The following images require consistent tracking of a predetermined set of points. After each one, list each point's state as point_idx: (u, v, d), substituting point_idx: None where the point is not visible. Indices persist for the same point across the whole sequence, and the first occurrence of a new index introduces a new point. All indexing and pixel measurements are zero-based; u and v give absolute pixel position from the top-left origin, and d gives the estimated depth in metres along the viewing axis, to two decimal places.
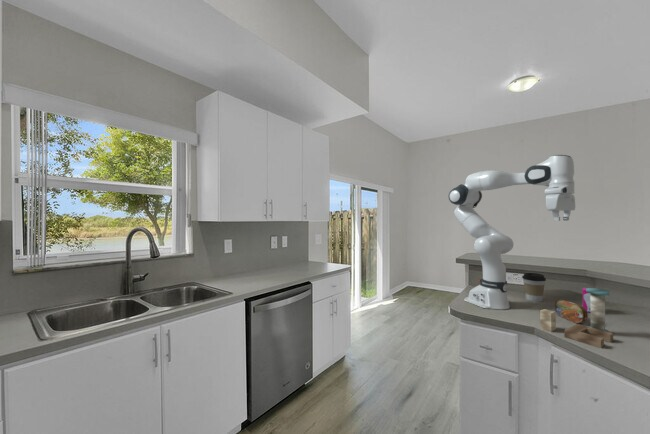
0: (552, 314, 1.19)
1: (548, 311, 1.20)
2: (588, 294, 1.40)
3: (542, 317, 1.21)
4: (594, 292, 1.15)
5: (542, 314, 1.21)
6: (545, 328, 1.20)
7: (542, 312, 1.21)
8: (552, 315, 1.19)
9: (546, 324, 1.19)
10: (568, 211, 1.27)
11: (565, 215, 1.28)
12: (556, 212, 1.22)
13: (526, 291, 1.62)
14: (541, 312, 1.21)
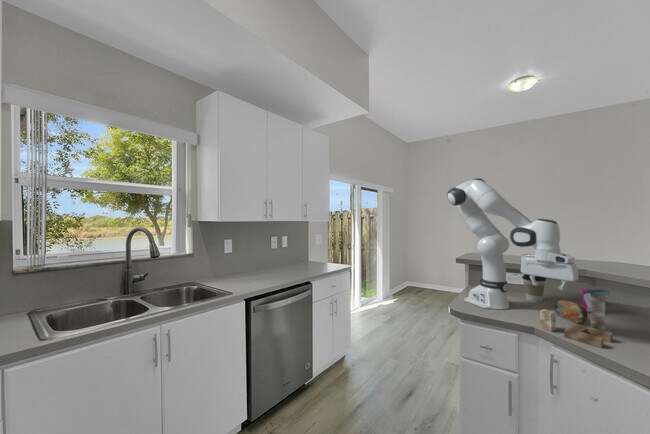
0: (552, 314, 1.19)
1: (548, 311, 1.20)
2: (588, 294, 1.40)
3: (542, 317, 1.21)
4: (594, 292, 1.15)
5: (542, 314, 1.21)
6: (545, 328, 1.20)
7: (542, 312, 1.21)
8: (552, 315, 1.19)
9: (546, 324, 1.20)
10: (534, 275, 1.26)
11: (534, 280, 1.25)
12: (566, 281, 1.15)
13: (526, 291, 1.62)
14: (541, 312, 1.21)
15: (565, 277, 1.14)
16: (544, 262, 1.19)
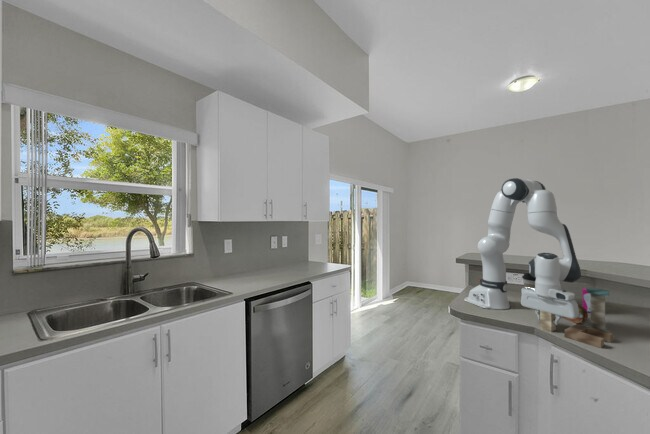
0: (552, 314, 1.19)
1: None
2: (588, 294, 1.40)
3: (542, 317, 1.21)
4: (594, 292, 1.15)
5: (542, 314, 1.21)
6: (545, 328, 1.20)
7: (542, 312, 1.21)
8: (552, 315, 1.19)
9: (546, 324, 1.20)
10: None
11: (539, 314, 1.23)
12: (560, 316, 1.17)
13: None
14: (541, 312, 1.21)
15: (565, 314, 1.14)
16: (544, 297, 1.19)
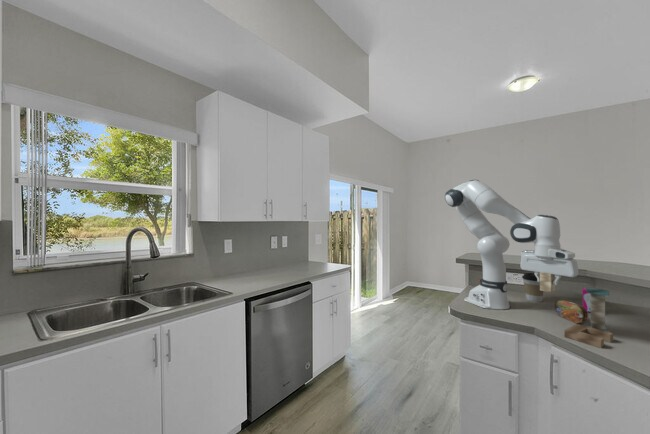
0: (552, 275, 1.19)
1: None
2: (588, 294, 1.40)
3: (541, 278, 1.21)
4: (594, 292, 1.15)
5: (542, 275, 1.21)
6: (545, 289, 1.20)
7: (542, 273, 1.21)
8: (552, 276, 1.19)
9: (546, 285, 1.19)
10: (539, 272, 1.24)
11: (538, 276, 1.23)
12: (560, 276, 1.17)
13: (526, 291, 1.62)
14: (541, 273, 1.21)
15: (565, 273, 1.14)
16: (544, 258, 1.19)
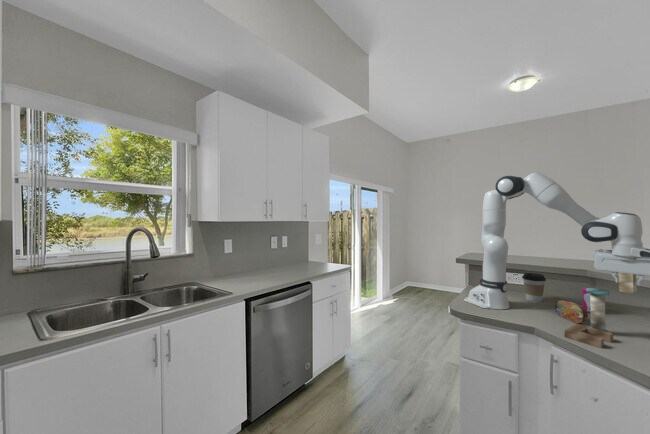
0: (633, 275, 1.13)
1: None
2: (588, 294, 1.40)
3: (621, 279, 1.15)
4: (594, 292, 1.15)
5: (621, 276, 1.15)
6: (626, 290, 1.14)
7: (621, 273, 1.15)
8: (634, 276, 1.13)
9: (627, 285, 1.14)
10: None
11: (617, 277, 1.18)
12: (644, 276, 1.11)
13: (526, 291, 1.62)
14: (620, 274, 1.16)
15: None
16: (625, 257, 1.13)
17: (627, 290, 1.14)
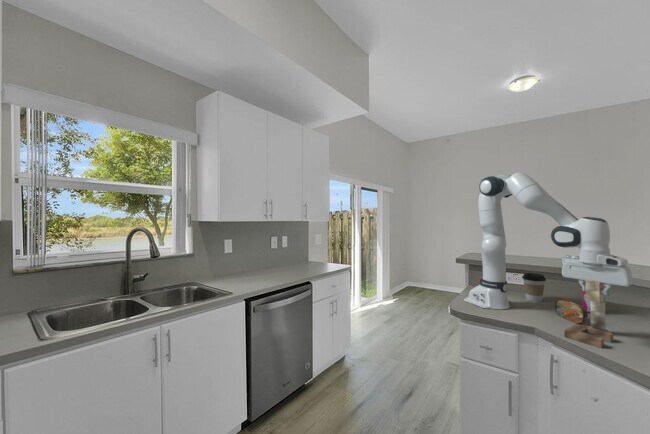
0: (600, 283, 1.07)
1: None
2: None
3: (588, 287, 1.09)
4: None
5: (588, 284, 1.09)
6: (592, 299, 1.08)
7: (588, 281, 1.09)
8: (600, 284, 1.07)
9: (593, 294, 1.08)
10: (584, 280, 1.13)
11: (584, 285, 1.12)
12: (610, 285, 1.06)
13: (526, 291, 1.62)
14: (587, 282, 1.10)
15: (617, 281, 1.02)
16: (591, 265, 1.08)
17: (593, 299, 1.08)
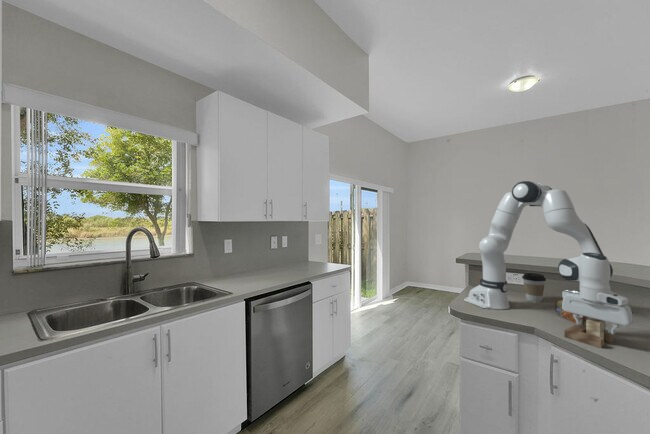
0: (601, 324, 1.07)
1: (595, 321, 1.09)
2: None
3: (588, 327, 1.10)
4: None
5: (589, 324, 1.10)
6: None
7: (589, 322, 1.09)
8: (601, 325, 1.08)
9: (594, 335, 1.08)
10: None
11: (578, 319, 1.14)
12: (618, 324, 1.04)
13: (526, 291, 1.62)
14: (587, 322, 1.10)
15: (617, 320, 1.02)
16: (592, 302, 1.08)
17: None
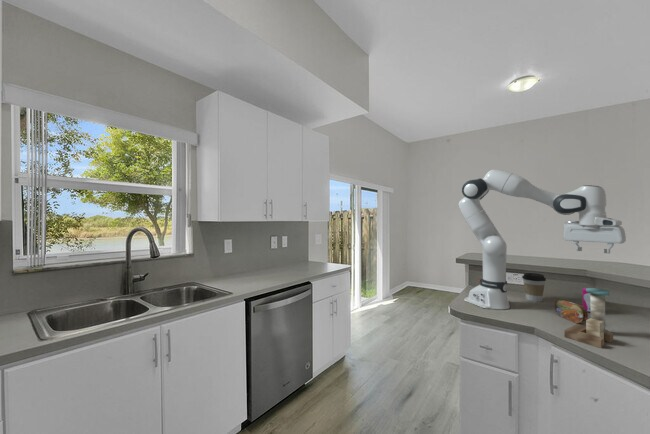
0: (601, 324, 1.07)
1: (595, 321, 1.09)
2: (588, 294, 1.40)
3: (588, 327, 1.10)
4: (594, 292, 1.15)
5: (589, 324, 1.09)
6: None
7: (589, 322, 1.09)
8: (601, 325, 1.08)
9: (594, 335, 1.08)
10: (578, 241, 1.29)
11: (577, 245, 1.28)
12: (613, 244, 1.19)
13: (526, 291, 1.62)
14: (587, 322, 1.10)
15: (612, 240, 1.17)
16: (590, 227, 1.22)
17: None
